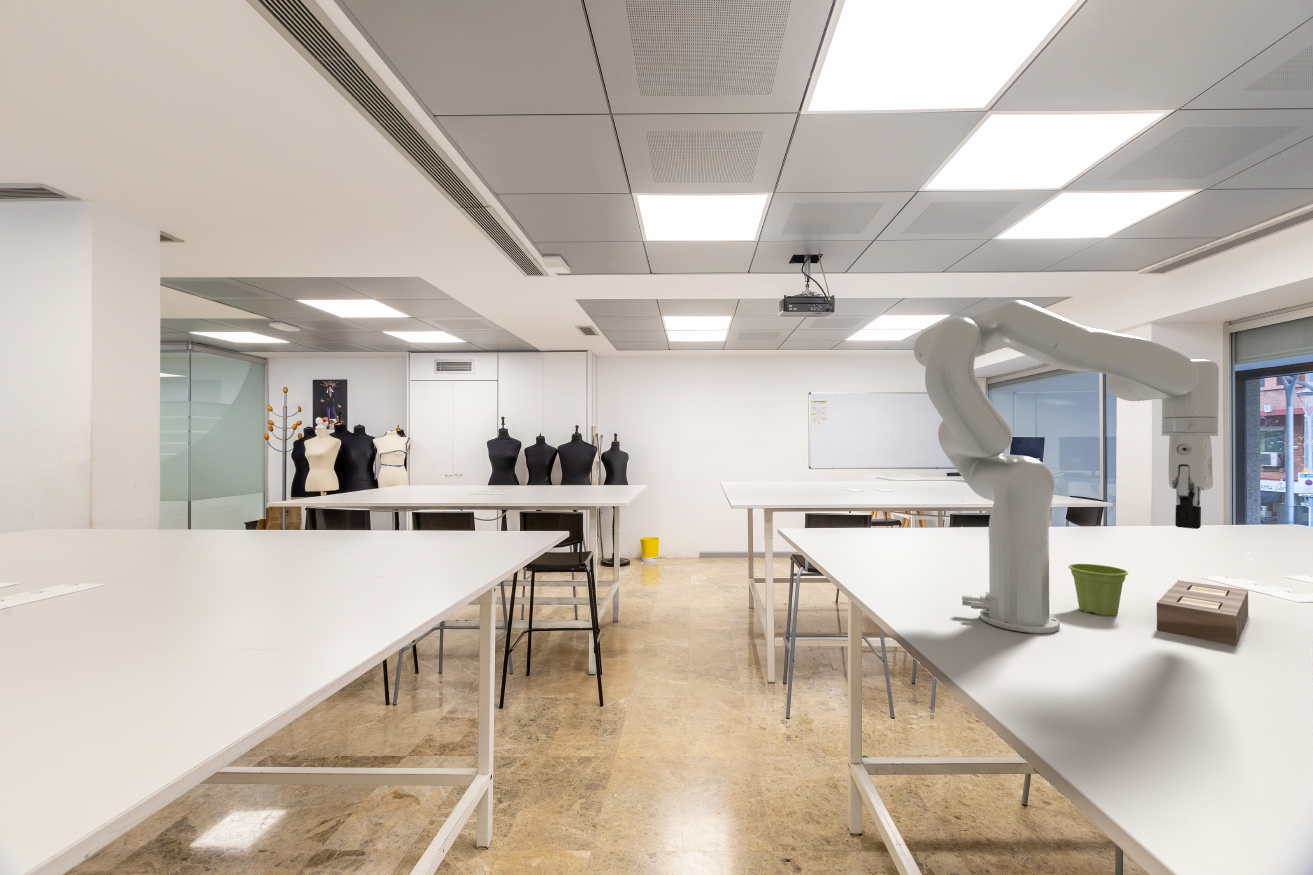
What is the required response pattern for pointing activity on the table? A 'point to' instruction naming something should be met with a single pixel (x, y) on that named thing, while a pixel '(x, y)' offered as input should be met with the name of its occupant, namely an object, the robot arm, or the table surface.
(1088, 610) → the plant pot
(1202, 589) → the peg far
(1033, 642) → the table surface
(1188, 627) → the peg board
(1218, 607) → the peg near
